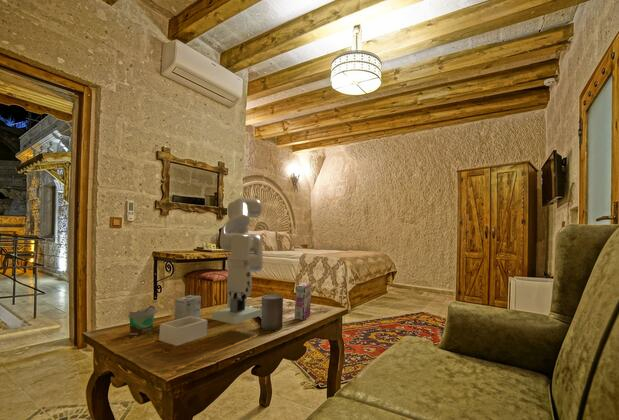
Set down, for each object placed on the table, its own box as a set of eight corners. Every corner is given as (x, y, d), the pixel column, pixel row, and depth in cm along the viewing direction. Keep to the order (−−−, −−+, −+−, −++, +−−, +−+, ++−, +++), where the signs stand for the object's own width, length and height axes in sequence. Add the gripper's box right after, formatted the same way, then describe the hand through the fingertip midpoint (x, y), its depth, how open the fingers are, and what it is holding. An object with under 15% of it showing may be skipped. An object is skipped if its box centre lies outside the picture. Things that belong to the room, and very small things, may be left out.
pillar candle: (286, 326, 144) (287, 292, 145) (274, 331, 135) (275, 296, 136) (268, 323, 148) (269, 290, 150) (256, 328, 140) (257, 294, 141)
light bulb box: (188, 317, 154) (190, 294, 155) (200, 318, 152) (201, 295, 153) (173, 323, 144) (174, 299, 145) (185, 324, 142) (186, 300, 143)
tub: (189, 333, 131) (190, 315, 131) (206, 337, 126) (207, 319, 126) (158, 343, 119) (160, 324, 119) (176, 348, 114) (177, 328, 114)
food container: (140, 339, 122) (142, 313, 122) (127, 338, 123) (128, 312, 124) (161, 330, 134) (163, 306, 134) (149, 328, 135) (150, 305, 136)
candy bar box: (303, 320, 153) (304, 286, 154) (294, 319, 155) (295, 285, 156) (310, 315, 164) (311, 283, 165) (301, 314, 165) (302, 282, 166)
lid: (239, 311, 139) (240, 293, 139) (261, 315, 132) (262, 297, 133) (211, 319, 125) (212, 299, 125) (234, 324, 119) (235, 303, 119)
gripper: (260, 264, 129) (259, 310, 128) (231, 262, 138) (229, 305, 136) (248, 266, 123) (246, 314, 122) (218, 263, 131) (216, 308, 130)
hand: (237, 309), depth 129 cm, fingers closed on lid, 2 cm apart
